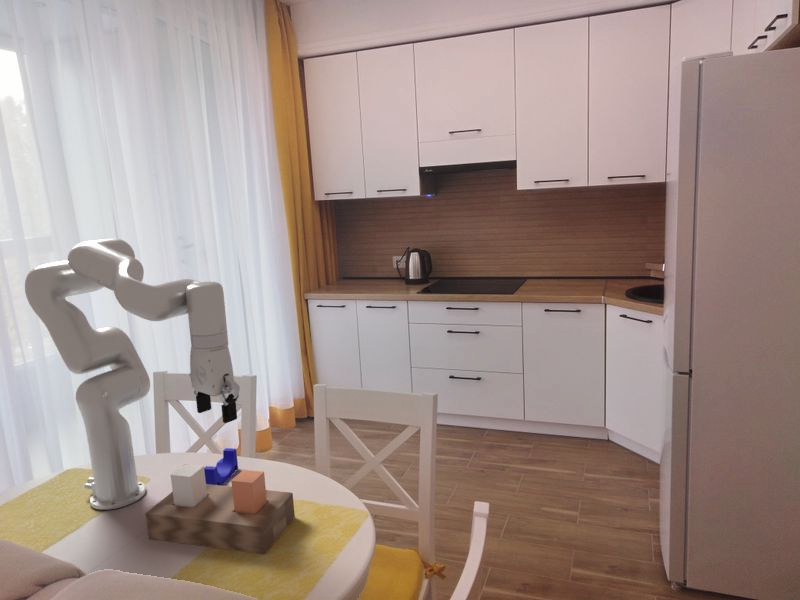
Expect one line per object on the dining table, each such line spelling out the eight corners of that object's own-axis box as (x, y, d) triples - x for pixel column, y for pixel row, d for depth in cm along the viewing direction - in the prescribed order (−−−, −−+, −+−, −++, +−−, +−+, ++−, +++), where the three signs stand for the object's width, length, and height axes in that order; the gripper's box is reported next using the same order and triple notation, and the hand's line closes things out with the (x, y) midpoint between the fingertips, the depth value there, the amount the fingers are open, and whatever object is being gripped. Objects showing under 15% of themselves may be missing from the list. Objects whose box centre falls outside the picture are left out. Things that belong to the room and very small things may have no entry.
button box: (148, 538, 128) (145, 513, 127) (188, 505, 141) (185, 481, 140) (264, 554, 120) (262, 527, 119) (294, 517, 134) (292, 492, 132)
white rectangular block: (174, 506, 130) (170, 474, 129) (188, 494, 135) (184, 464, 133) (194, 508, 129) (190, 476, 127) (207, 497, 133) (203, 466, 132)
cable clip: (222, 468, 160) (220, 447, 159) (238, 469, 159) (236, 448, 158) (200, 490, 148) (197, 468, 147) (216, 491, 147) (214, 469, 146)
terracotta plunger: (234, 513, 126) (231, 480, 125) (246, 501, 131) (243, 469, 129) (255, 515, 125) (252, 482, 123) (267, 503, 129) (264, 471, 128)
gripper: (171, 338, 128) (180, 412, 131) (217, 350, 117) (225, 431, 121) (202, 331, 134) (209, 402, 137) (248, 342, 123) (255, 419, 126)
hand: (217, 415), depth 129 cm, fingers open, 9 cm apart
